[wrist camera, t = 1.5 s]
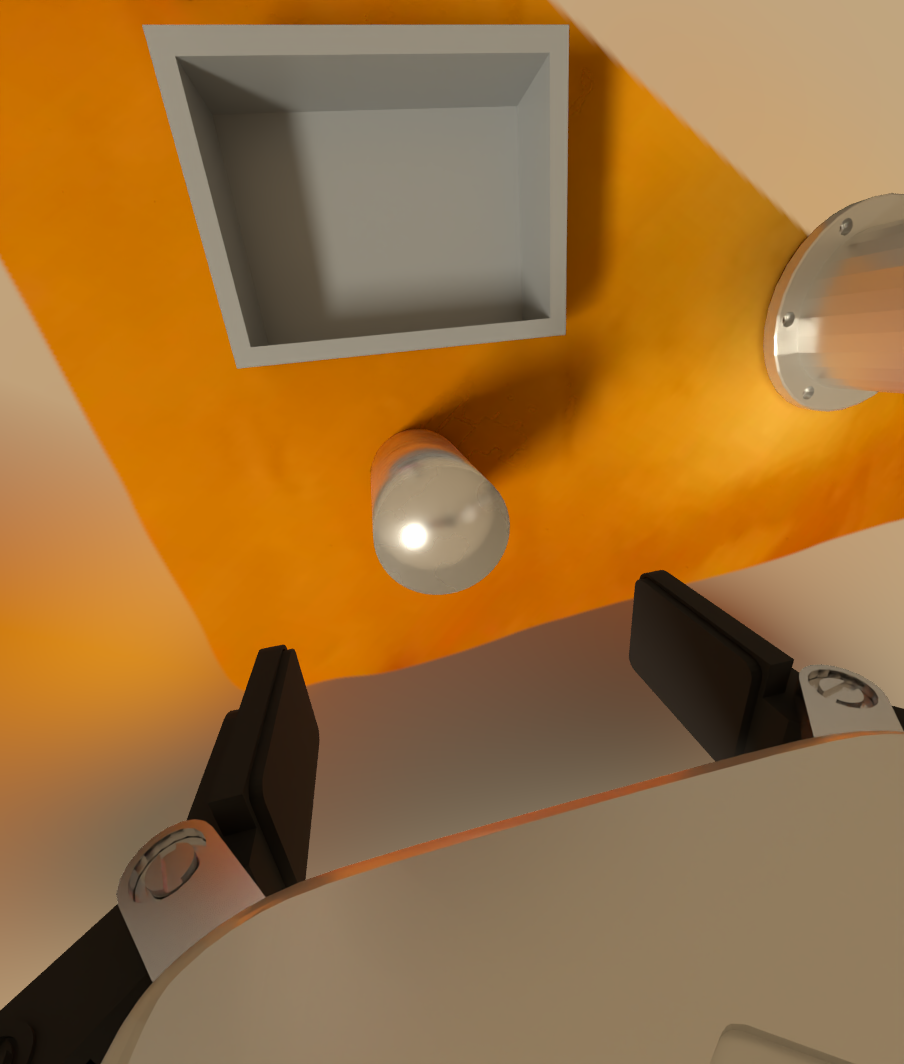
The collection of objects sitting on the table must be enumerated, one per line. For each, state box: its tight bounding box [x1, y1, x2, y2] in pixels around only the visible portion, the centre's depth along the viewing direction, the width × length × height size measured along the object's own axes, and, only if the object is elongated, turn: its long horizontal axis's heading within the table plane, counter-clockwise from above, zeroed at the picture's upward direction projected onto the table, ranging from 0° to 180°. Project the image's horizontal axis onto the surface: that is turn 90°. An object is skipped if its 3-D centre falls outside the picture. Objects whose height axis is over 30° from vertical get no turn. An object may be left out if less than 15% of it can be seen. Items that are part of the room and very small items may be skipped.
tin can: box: [371, 429, 510, 595], centre depth 23 cm, size 6×6×10 cm
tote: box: [142, 25, 569, 368], centre depth 20 cm, size 16×11×5 cm
